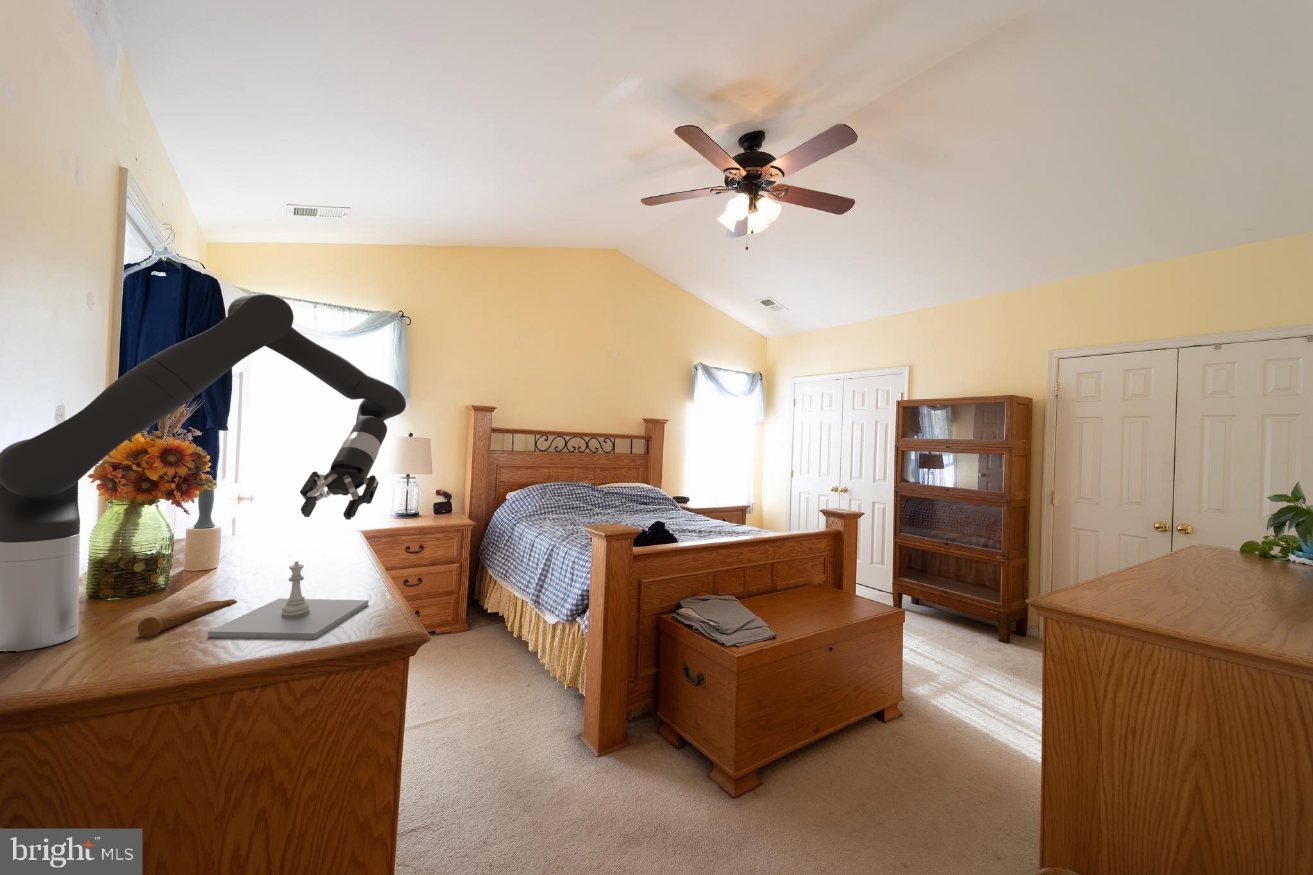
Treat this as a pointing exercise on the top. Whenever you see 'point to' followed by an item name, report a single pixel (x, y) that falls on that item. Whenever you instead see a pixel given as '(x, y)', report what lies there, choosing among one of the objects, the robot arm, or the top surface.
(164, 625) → the primitive tool
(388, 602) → the top surface
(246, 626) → the slate tile
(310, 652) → the top surface
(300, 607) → the chess piece
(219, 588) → the top surface
